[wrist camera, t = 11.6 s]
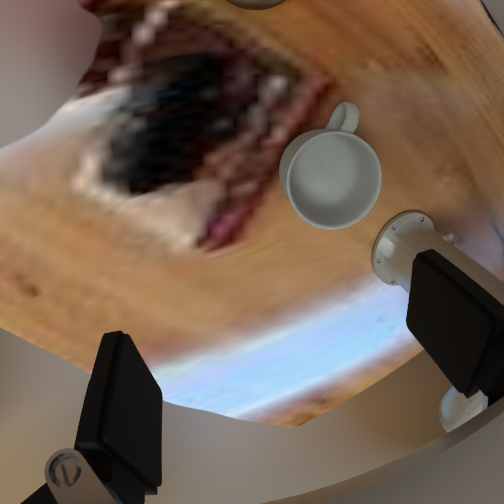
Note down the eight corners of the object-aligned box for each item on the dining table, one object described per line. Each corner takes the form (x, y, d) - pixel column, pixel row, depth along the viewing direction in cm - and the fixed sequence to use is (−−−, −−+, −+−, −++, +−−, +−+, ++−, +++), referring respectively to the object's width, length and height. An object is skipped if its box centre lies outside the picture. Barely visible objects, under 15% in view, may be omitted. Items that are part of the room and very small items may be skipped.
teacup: (328, 219, 41) (355, 243, 34) (255, 190, 38) (271, 211, 31) (371, 126, 37) (407, 134, 30) (301, 87, 33) (327, 84, 26)
